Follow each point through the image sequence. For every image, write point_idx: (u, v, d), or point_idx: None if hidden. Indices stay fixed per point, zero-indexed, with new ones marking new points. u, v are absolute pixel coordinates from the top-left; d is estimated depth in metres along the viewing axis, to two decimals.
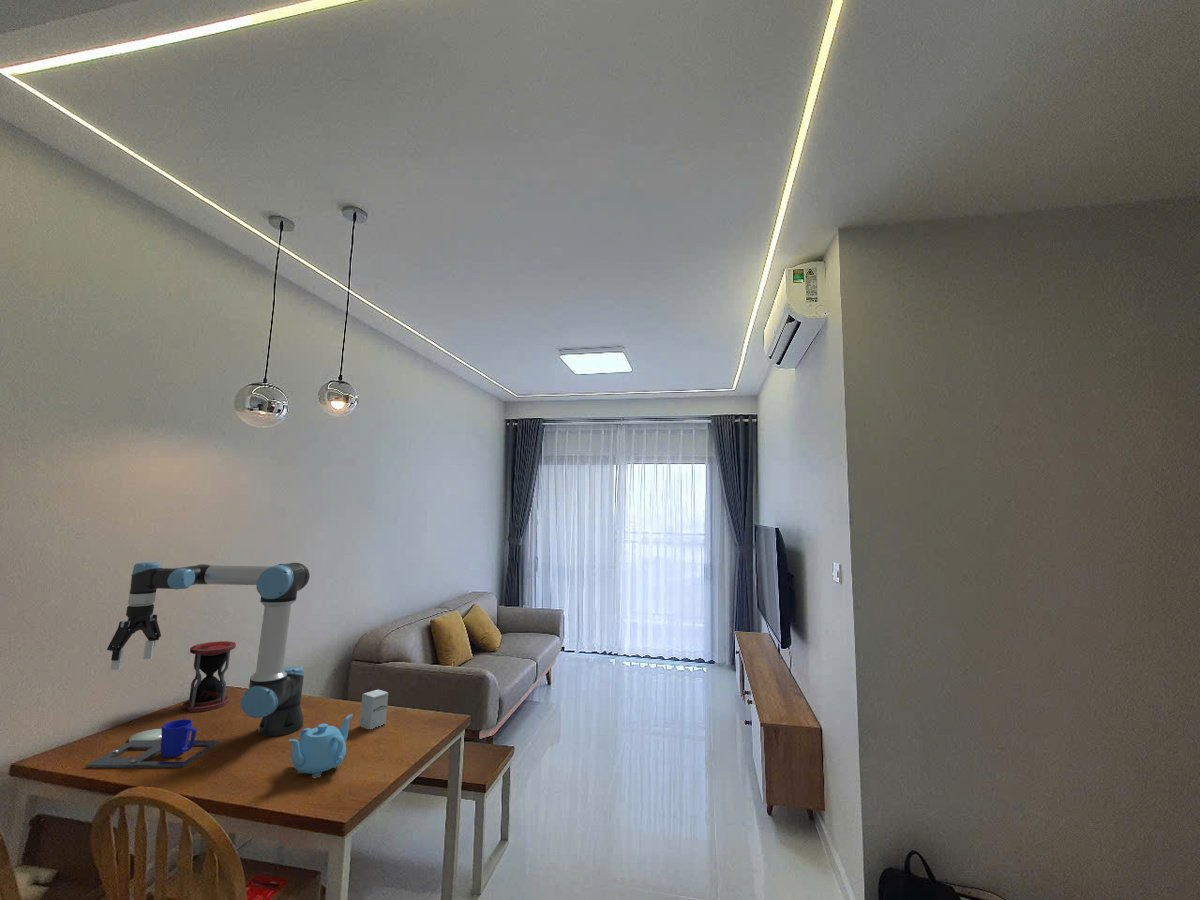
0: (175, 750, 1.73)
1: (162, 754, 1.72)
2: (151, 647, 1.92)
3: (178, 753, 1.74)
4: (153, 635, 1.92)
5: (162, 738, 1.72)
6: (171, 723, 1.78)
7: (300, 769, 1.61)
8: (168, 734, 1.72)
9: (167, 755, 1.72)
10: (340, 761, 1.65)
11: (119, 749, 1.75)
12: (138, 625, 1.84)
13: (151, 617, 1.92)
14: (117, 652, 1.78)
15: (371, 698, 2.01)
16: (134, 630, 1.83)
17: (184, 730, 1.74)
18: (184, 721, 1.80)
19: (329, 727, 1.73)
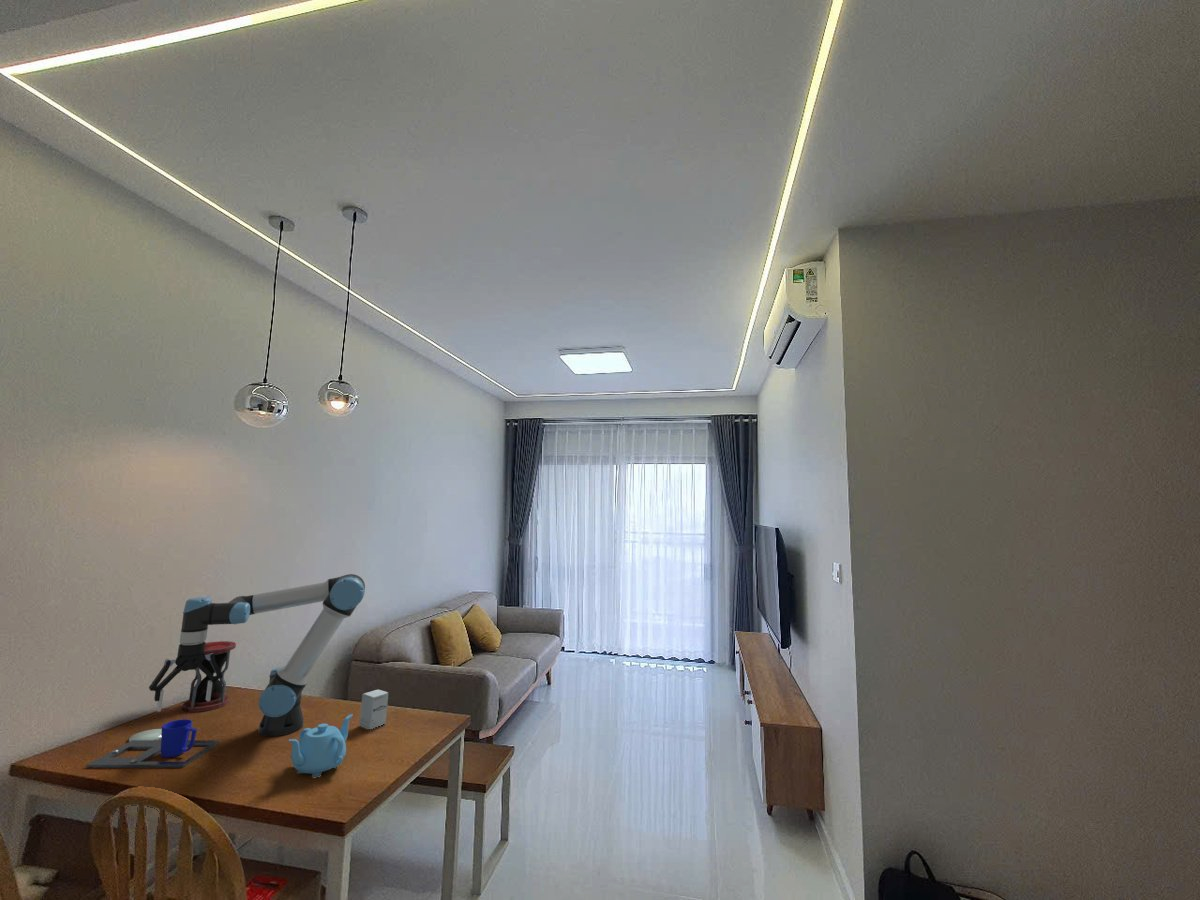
0: (175, 750, 1.73)
1: (162, 754, 1.72)
2: (209, 689, 1.81)
3: (178, 753, 1.74)
4: (210, 676, 1.82)
5: (162, 738, 1.72)
6: (171, 723, 1.78)
7: (300, 769, 1.61)
8: (168, 734, 1.72)
9: (167, 755, 1.72)
10: (340, 761, 1.65)
11: (119, 749, 1.75)
12: (183, 665, 1.76)
13: (208, 656, 1.82)
14: (157, 692, 1.71)
15: (371, 698, 2.01)
16: (178, 670, 1.75)
17: (184, 730, 1.74)
18: (184, 721, 1.80)
19: (329, 727, 1.73)
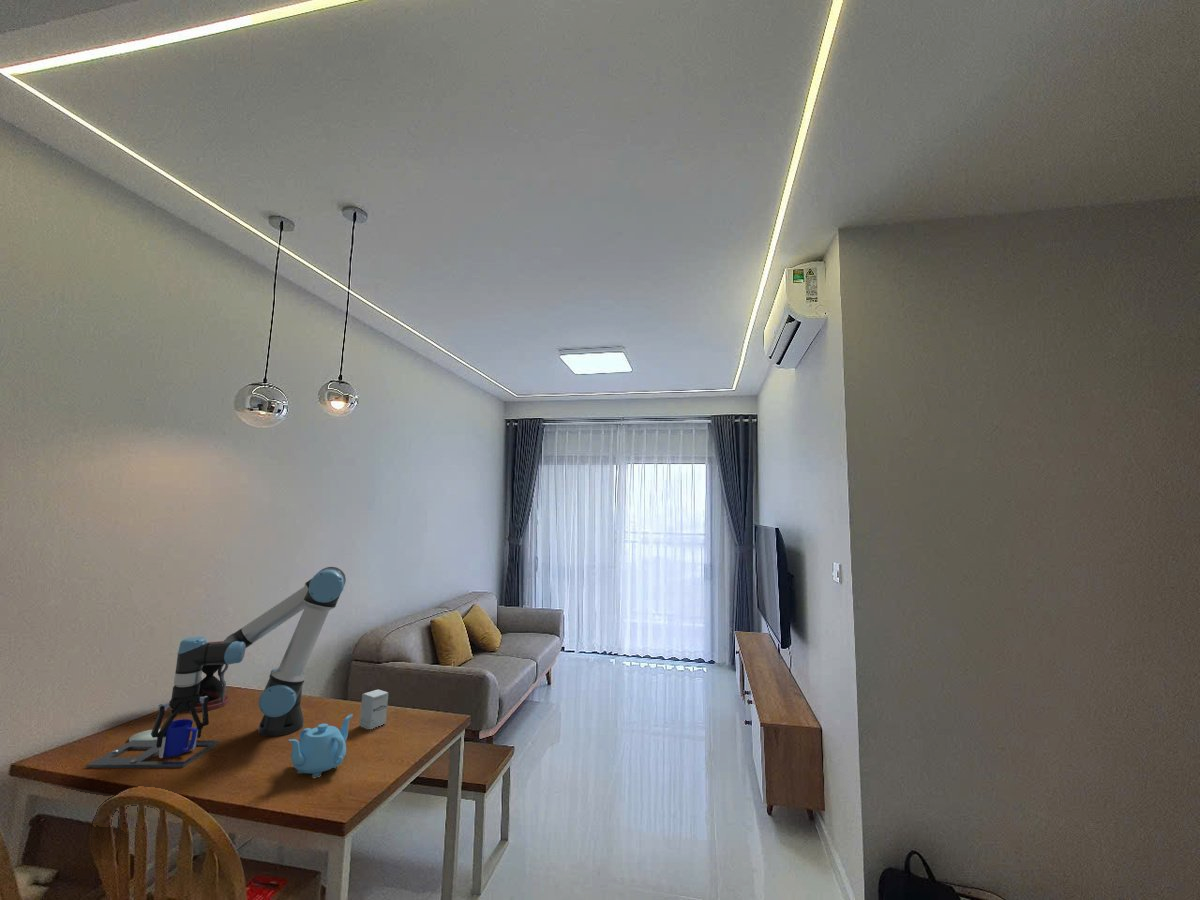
0: (175, 749, 1.73)
1: (163, 754, 1.72)
2: None
3: (179, 753, 1.74)
4: (197, 722, 1.78)
5: None
6: (172, 723, 1.78)
7: (300, 769, 1.61)
8: (169, 734, 1.72)
9: (168, 755, 1.72)
10: (340, 761, 1.65)
11: (119, 749, 1.75)
12: (178, 708, 1.74)
13: (202, 699, 1.80)
14: (159, 739, 1.71)
15: (371, 698, 2.01)
16: (174, 714, 1.73)
17: (185, 730, 1.75)
18: (185, 721, 1.80)
19: (329, 727, 1.73)
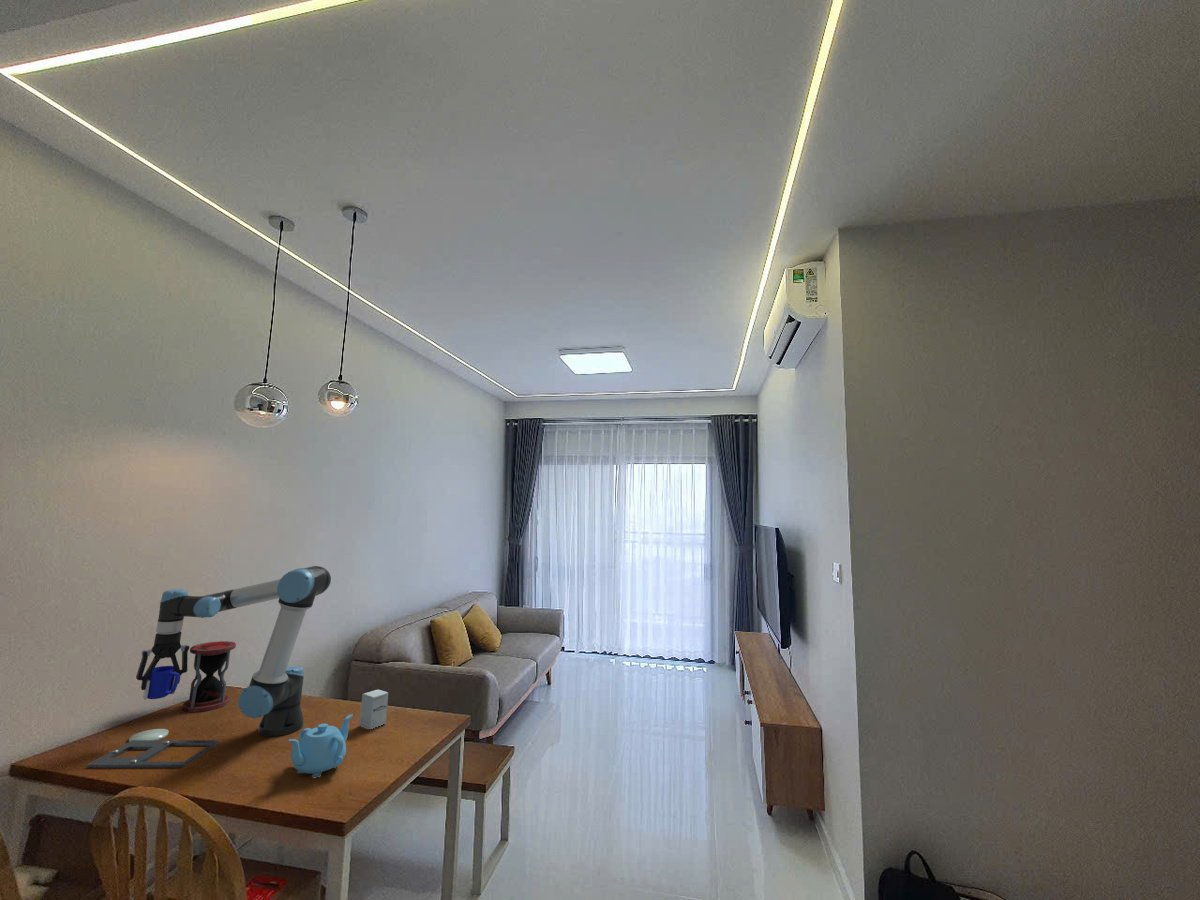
0: (159, 692, 1.85)
1: None
2: (173, 682, 1.89)
3: (162, 695, 1.86)
4: (177, 669, 1.90)
5: None
6: (156, 668, 1.90)
7: (300, 769, 1.61)
8: (153, 677, 1.84)
9: (152, 697, 1.84)
10: (340, 761, 1.65)
11: (119, 749, 1.75)
12: (160, 653, 1.86)
13: (183, 647, 1.92)
14: (144, 682, 1.83)
15: (371, 698, 2.01)
16: (157, 659, 1.85)
17: (168, 674, 1.87)
18: (168, 667, 1.92)
19: (329, 727, 1.73)
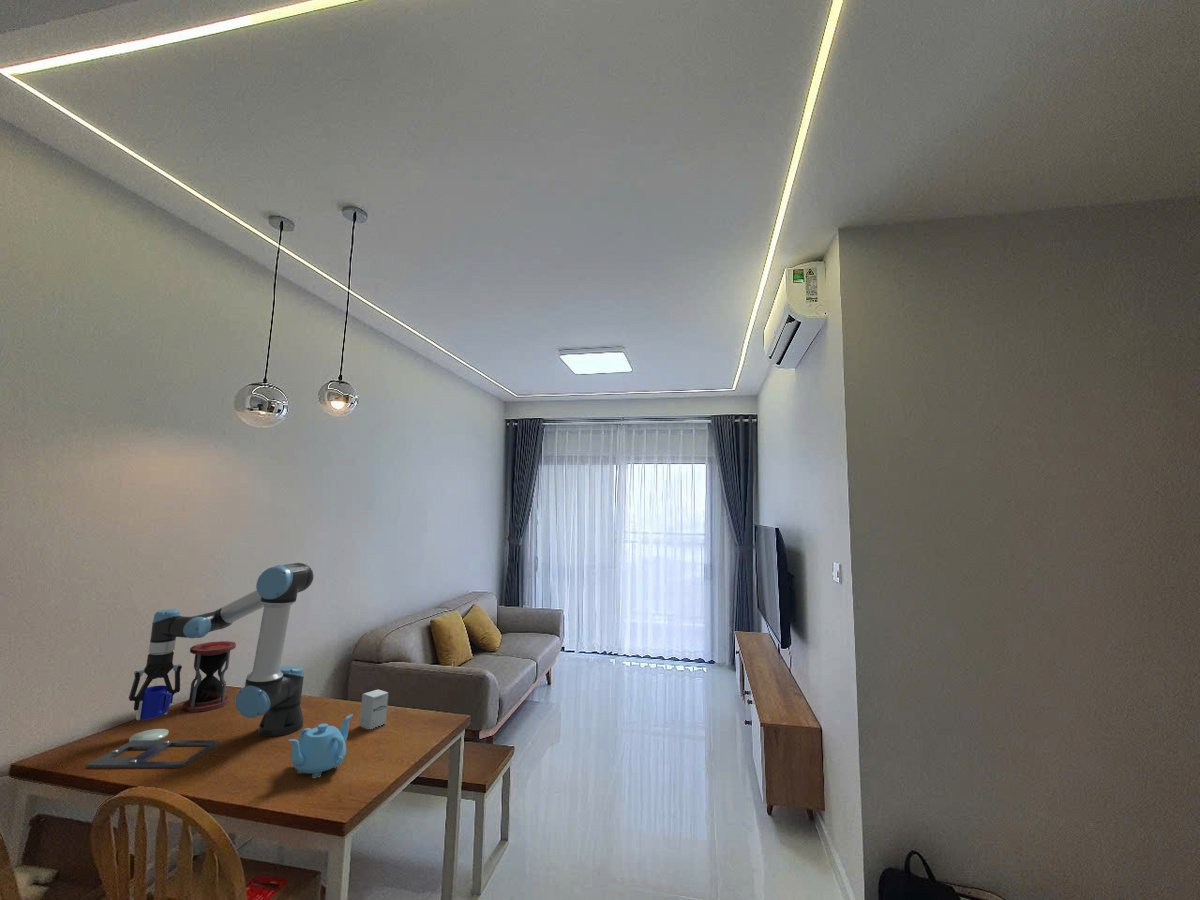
0: (151, 712, 1.86)
1: (140, 716, 1.86)
2: None
3: (155, 715, 1.87)
4: (170, 689, 1.91)
5: None
6: (149, 688, 1.91)
7: (300, 769, 1.61)
8: (145, 698, 1.86)
9: (144, 717, 1.86)
10: (340, 761, 1.65)
11: (119, 749, 1.75)
12: (153, 674, 1.87)
13: (176, 667, 1.93)
14: (136, 702, 1.84)
15: (371, 698, 2.01)
16: (149, 679, 1.87)
17: (160, 694, 1.88)
18: (161, 687, 1.93)
19: (329, 727, 1.73)
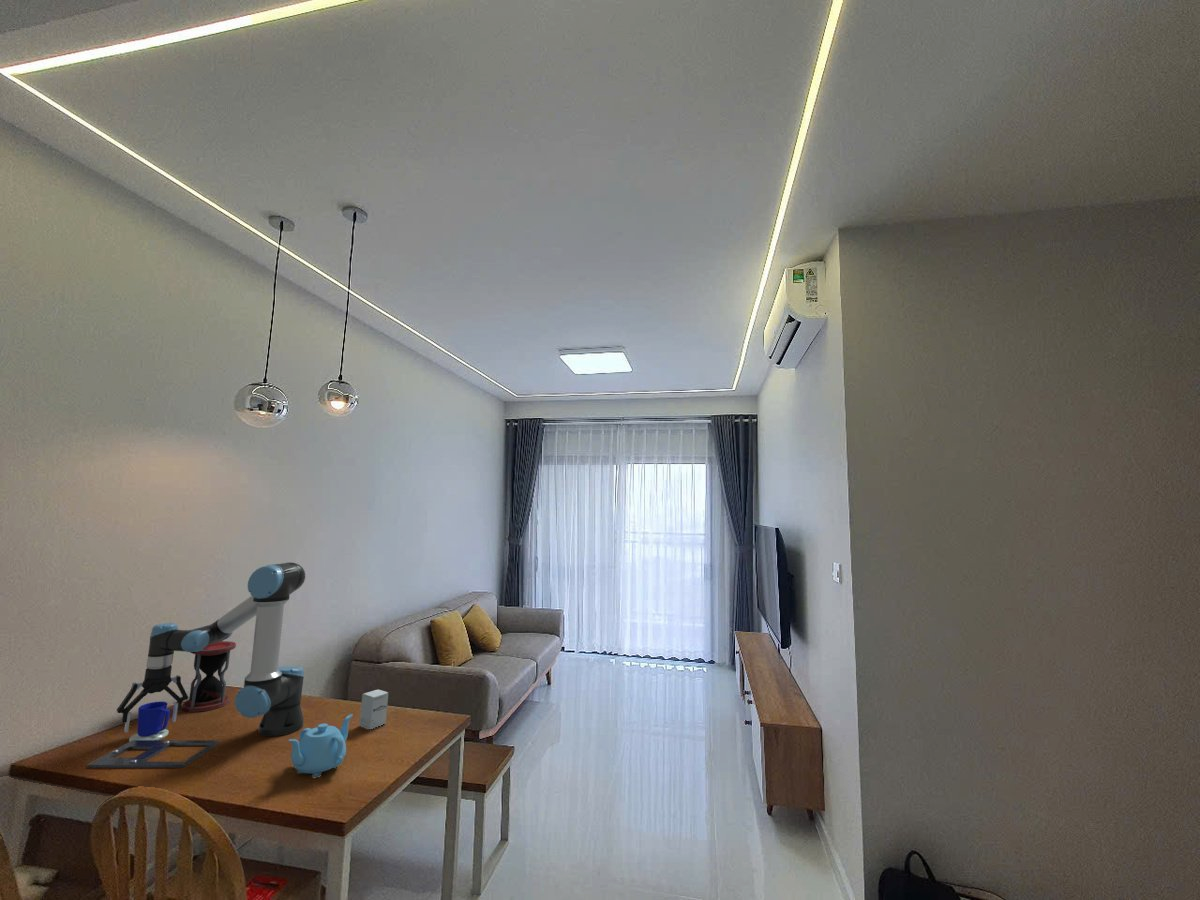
0: (150, 729, 1.86)
1: (138, 733, 1.85)
2: (175, 710, 1.92)
3: (153, 732, 1.87)
4: (176, 697, 1.92)
5: (138, 718, 1.86)
6: (148, 705, 1.91)
7: (300, 769, 1.61)
8: (144, 714, 1.85)
9: (143, 734, 1.85)
10: (340, 761, 1.65)
11: (119, 749, 1.75)
12: (150, 688, 1.86)
13: (174, 679, 1.93)
14: (124, 714, 1.82)
15: (371, 698, 2.01)
16: (144, 693, 1.85)
17: (159, 711, 1.87)
18: (160, 703, 1.93)
19: (329, 727, 1.73)
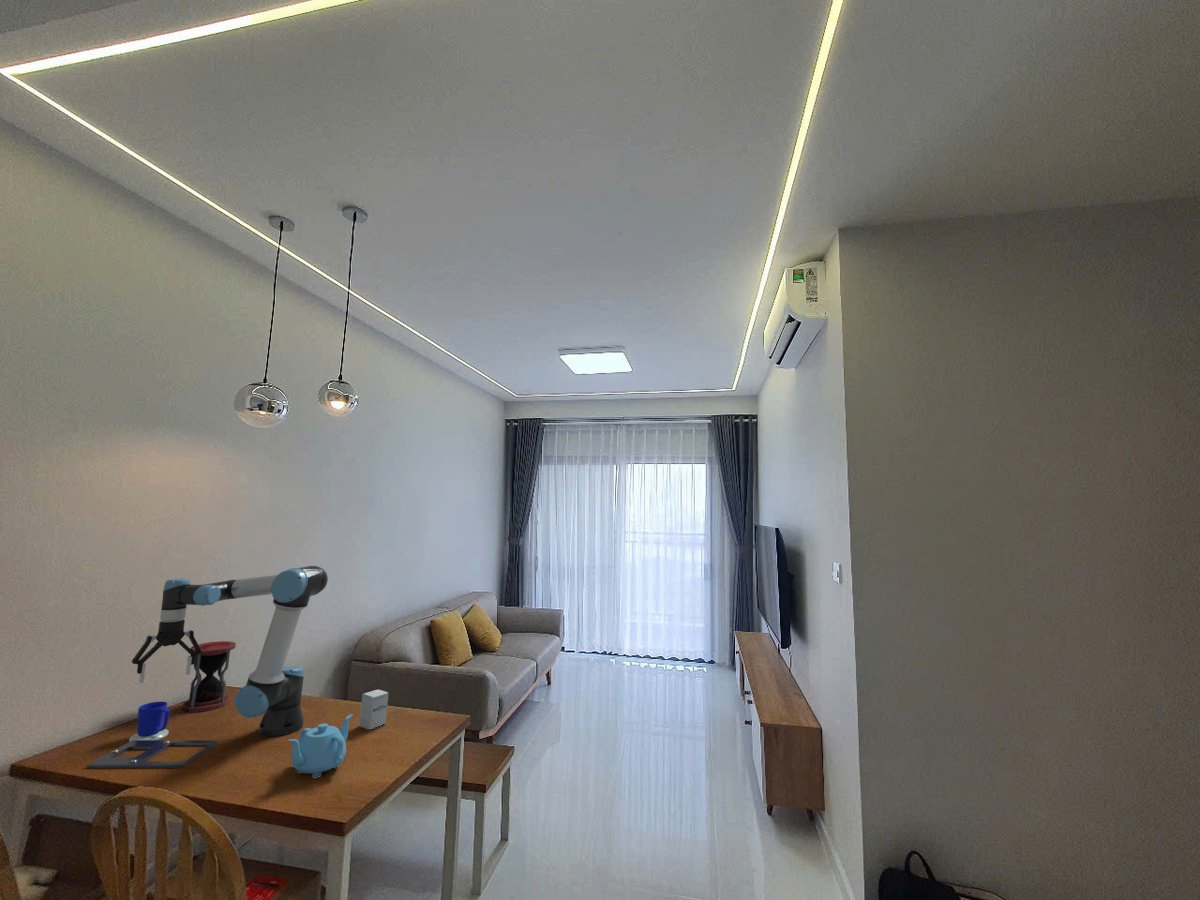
0: (150, 729, 1.86)
1: (138, 733, 1.85)
2: (188, 663, 1.95)
3: (153, 732, 1.87)
4: (190, 651, 1.95)
5: (138, 718, 1.86)
6: (148, 705, 1.91)
7: (300, 769, 1.61)
8: (144, 714, 1.85)
9: (143, 734, 1.85)
10: (340, 761, 1.65)
11: (119, 749, 1.75)
12: (164, 641, 1.89)
13: (187, 633, 1.96)
14: (139, 666, 1.85)
15: (371, 698, 2.01)
16: (159, 645, 1.88)
17: (159, 711, 1.87)
18: (160, 703, 1.93)
19: (329, 727, 1.73)
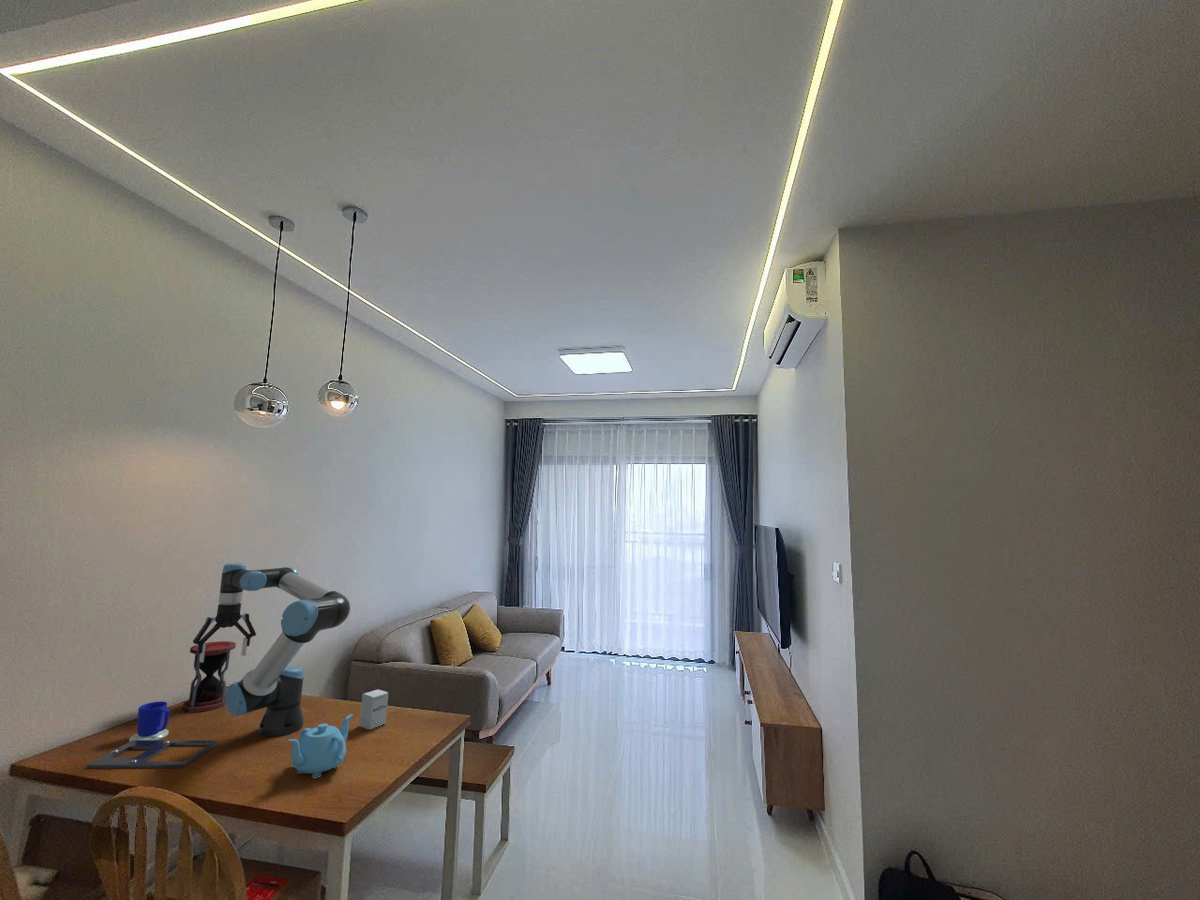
0: (150, 729, 1.86)
1: (138, 733, 1.85)
2: (244, 644, 2.02)
3: (153, 732, 1.87)
4: (245, 633, 2.03)
5: (138, 718, 1.86)
6: (148, 705, 1.91)
7: (300, 769, 1.61)
8: (144, 714, 1.85)
9: (143, 734, 1.85)
10: (340, 761, 1.65)
11: (119, 749, 1.75)
12: (222, 622, 1.97)
13: (243, 616, 2.03)
14: (200, 646, 1.92)
15: (371, 698, 2.01)
16: (218, 627, 1.96)
17: (159, 711, 1.87)
18: (160, 703, 1.93)
19: (329, 727, 1.73)
